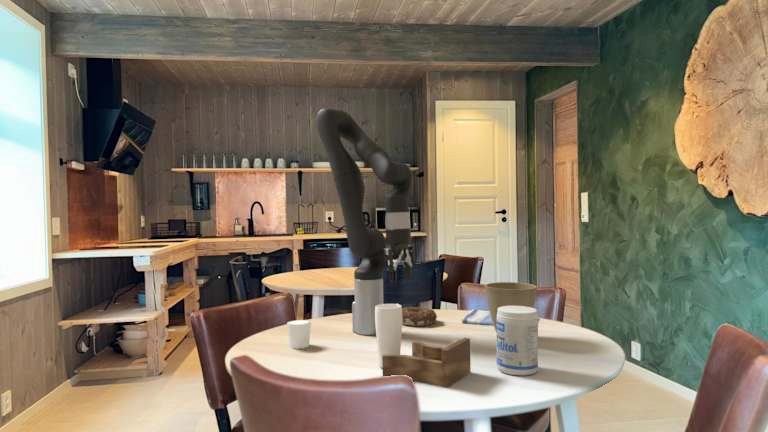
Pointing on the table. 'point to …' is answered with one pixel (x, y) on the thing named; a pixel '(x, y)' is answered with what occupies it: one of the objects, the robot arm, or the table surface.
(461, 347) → the holder
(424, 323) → the donut
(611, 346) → the table surface
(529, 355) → the supplement tub
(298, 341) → the white cup
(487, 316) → the dish towel
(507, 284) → the plant pot
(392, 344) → the drinking glass
